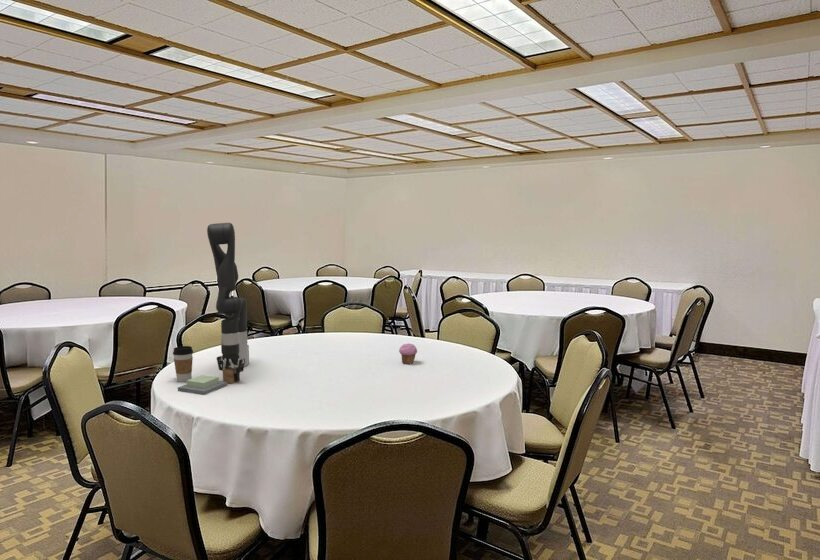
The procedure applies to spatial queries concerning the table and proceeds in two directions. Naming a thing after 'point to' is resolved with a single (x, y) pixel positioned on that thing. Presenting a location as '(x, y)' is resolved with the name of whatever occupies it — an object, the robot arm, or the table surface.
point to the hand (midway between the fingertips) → (231, 380)
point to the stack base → (202, 391)
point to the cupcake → (408, 353)
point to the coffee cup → (183, 363)
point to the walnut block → (229, 375)
